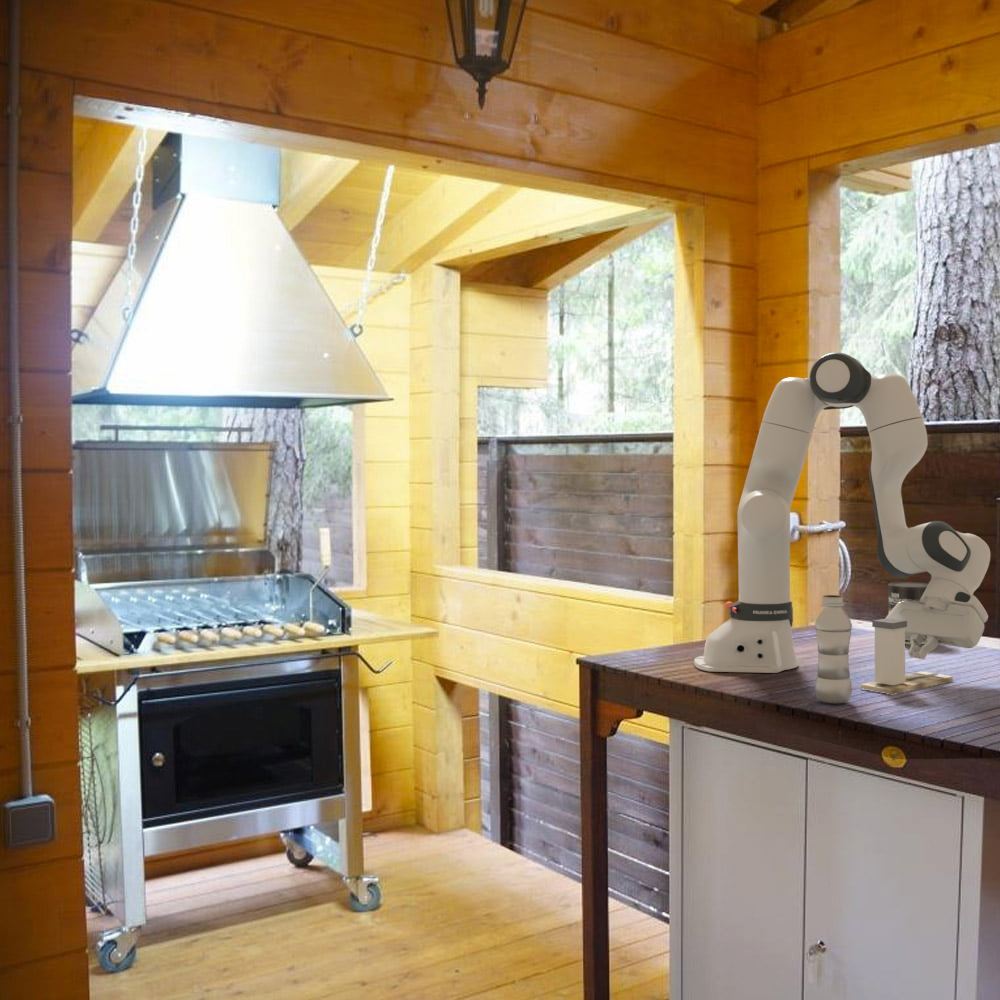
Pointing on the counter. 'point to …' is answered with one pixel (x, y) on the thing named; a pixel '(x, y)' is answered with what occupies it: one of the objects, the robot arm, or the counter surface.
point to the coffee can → (905, 594)
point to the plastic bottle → (833, 652)
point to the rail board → (910, 683)
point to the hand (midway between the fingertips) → (915, 656)
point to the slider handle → (889, 651)
